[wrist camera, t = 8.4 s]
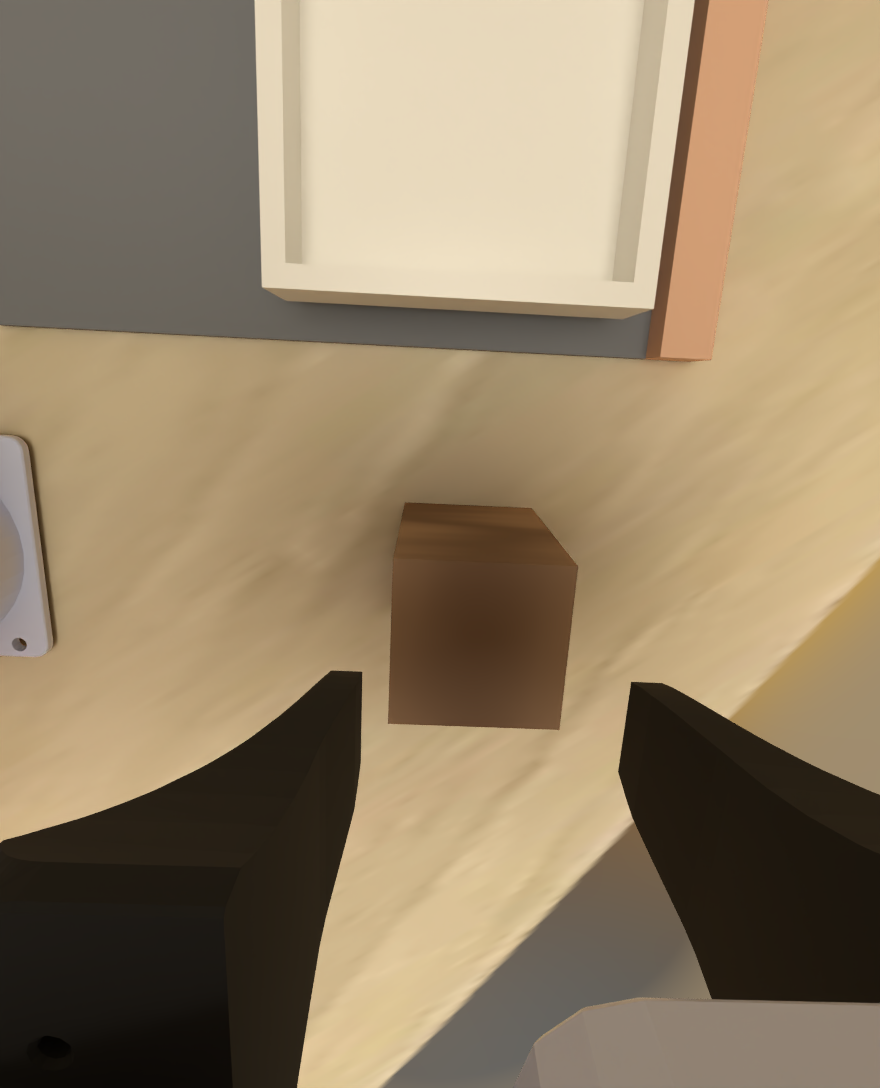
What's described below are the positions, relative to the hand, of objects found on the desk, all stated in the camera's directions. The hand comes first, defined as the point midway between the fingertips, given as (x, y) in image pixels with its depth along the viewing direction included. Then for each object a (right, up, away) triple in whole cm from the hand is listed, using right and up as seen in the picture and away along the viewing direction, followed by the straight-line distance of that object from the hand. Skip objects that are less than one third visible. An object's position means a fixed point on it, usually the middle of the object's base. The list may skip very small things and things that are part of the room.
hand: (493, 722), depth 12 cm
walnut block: (0, +3, +10) cm, 10 cm away
